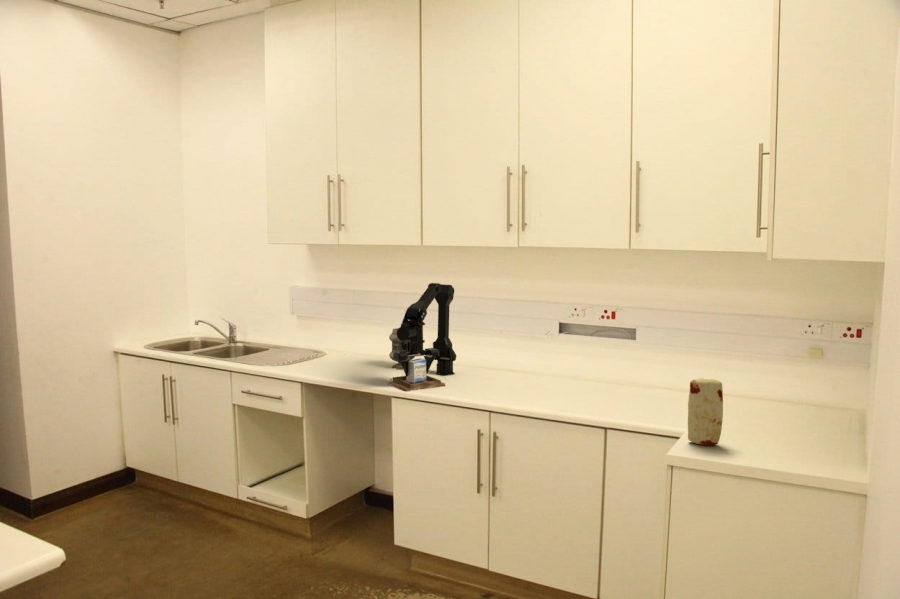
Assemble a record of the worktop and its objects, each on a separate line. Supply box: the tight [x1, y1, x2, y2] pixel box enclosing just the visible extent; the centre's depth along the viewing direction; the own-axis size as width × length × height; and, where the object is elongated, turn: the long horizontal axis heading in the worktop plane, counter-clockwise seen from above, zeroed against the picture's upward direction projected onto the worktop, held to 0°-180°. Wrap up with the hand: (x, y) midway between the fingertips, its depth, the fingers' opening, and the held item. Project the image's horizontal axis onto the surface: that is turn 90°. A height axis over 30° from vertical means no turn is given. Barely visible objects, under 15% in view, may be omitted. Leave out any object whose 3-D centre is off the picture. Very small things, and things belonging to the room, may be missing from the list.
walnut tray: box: [388, 374, 446, 392], centre depth 290 cm, size 18×16×2 cm
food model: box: [687, 377, 724, 447], centre depth 208 cm, size 10×7×20 cm
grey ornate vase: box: [388, 327, 415, 370], centre depth 326 cm, size 12×12×18 cm
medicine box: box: [405, 358, 427, 383], centre depth 290 cm, size 8×4×9 cm, turn 142°
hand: (416, 374), depth 290 cm, fingers closed on medicine box, 9 cm apart
